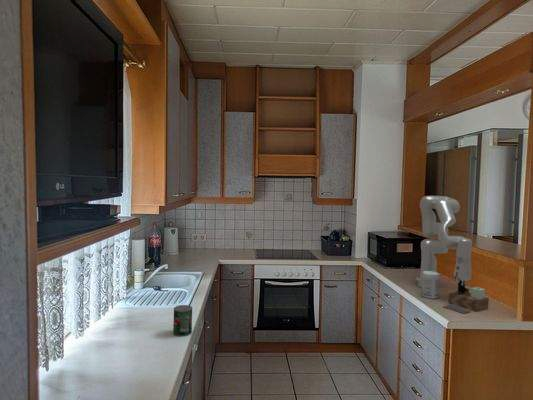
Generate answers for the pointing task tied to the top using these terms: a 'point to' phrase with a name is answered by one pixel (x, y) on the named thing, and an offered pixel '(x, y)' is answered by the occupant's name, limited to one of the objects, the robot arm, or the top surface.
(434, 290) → the supplement tub
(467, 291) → the t bolt
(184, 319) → the canned tomato
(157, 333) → the top surface
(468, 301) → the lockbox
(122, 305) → the top surface
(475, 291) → the cover
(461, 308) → the mat
